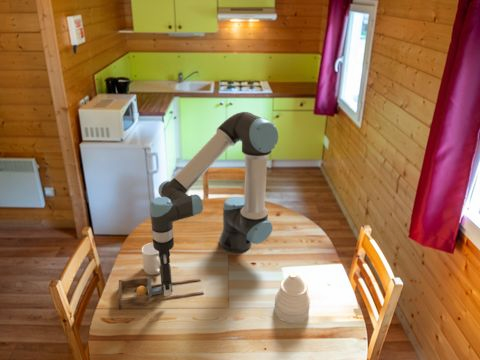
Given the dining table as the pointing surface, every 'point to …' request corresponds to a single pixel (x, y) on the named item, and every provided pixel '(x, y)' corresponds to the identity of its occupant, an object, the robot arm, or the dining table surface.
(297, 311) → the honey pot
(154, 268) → the mug
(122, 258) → the dining table surface
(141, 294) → the ball
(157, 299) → the lane
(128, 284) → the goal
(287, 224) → the dining table surface
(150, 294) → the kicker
